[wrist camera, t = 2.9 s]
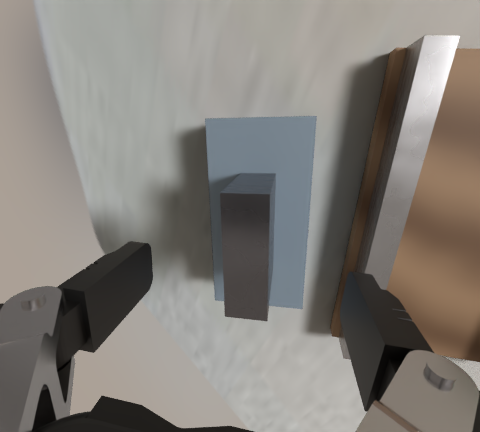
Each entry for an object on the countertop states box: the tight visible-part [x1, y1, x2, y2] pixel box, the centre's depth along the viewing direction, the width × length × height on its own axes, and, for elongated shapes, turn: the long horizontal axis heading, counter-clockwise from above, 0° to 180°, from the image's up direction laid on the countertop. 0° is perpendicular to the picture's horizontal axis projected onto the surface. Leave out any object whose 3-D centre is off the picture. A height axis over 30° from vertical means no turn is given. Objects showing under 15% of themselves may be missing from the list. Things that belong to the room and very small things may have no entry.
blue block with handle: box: [205, 116, 317, 321], centre depth 15 cm, size 12×6×9 cm, turn 2°
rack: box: [330, 35, 480, 362], centre depth 16 cm, size 20×13×3 cm, turn 177°
